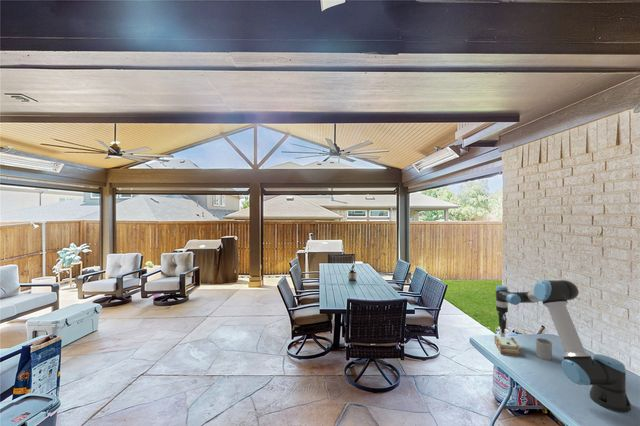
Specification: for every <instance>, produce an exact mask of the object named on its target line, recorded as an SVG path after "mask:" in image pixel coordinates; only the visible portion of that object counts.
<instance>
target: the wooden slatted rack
mask: <svg viewBox="0 0 640 426" xmlns="http://www.w3.org/2000/svg"><path fill="white" fill-rule="evenodd" d="M497 337H498V336H497V335H494V345H495V344H496V345H495V347H496V348H497V350H498V352H499V351H500V352H499V353H500V354H501V355H504V356H505V355H506V356H514V357H521V356H522V354H521V353H522V351H521V350H522V349H521V348H522V347H520V345H519V343H518V342H517V341H516V340H515V338H514V337H510V339H512V341H513V342H514V343H515V345H516V346H517V349H511V348H503V346H502V344H501V342H500V341H499V339H498V338H497Z"/></svg>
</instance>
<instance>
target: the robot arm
mask: <svg viewBox="0 0 640 426" xmlns="http://www.w3.org/2000/svg"><path fill="white" fill-rule="evenodd" d="M578 296H579V288H578V287H577V285H575V284H574V283H573V282H572V281H569V280H561V279H559V280H557V279H556V280H549V279H548V280H547V279H546V280H539V281H537V282H536V283H535V284H534V286H533V290H530V291H518V292H516V291H513V292H511V291H509V289H508V287H507V286H506V285H501V284H500V285H499V284H498V285H496V287H495V299H496V300H495V307H496V309H495V310H496V311H497V315H498V325H499V337H500V338H506V329H507V327H506V326H507V314H506V313H508V312H509V308H508V306H509V304H511V305H514V306H517V305H519V304H524V303H525V304H526V303H527V304H528V303H529V304H530V303H531V304H532V303H533V304H535V303H538V302H542V304H543V306H544V307H546V308H547V309H548V312H549V314H550V316H551V320H552V322H553V325H554V327H555V330H556V332H557V333H556V334H557V335H558V338H559V340H560V343H561V346H562V348H563V351H564V354H563V357H562V358H563V360H562V361H561V365H560V366H561V369H562V372H563V373H564V375H565V376H566V378H567V379H568V380H570V381H571V382H572V383H574V384H576V385H579V386H591V387H590V389H589V397H590V399H591V400H592V401H593V402H594V403H596V404H597V405H600V406H601V407H602V408H605V409H608V410H611V411H615V412H617V413H618V412H619V413H629V412H631V410H632V404H631V402H630V399H629V397H628V395H627V393H626V390H627V387H626V383H627V382H626V379H627V377H626V376H627V375H626V374H627V371H626V366H625V365H624V363H623V362H621V361H620V360H618V359H616V358H613V357H611V356H607V355H605V354H598V353H597V354H596V353H595V354H593V357H592V356H591V354H589V353H587V352H586V351H585V349H584V346H583V343H582V341H581V339H580V336H579V334H578V332H577V331H578V330H577V329H576V327H575V324H574V322H573V320H572V317H571V315H570V312H569V310H568V308H567V305H568V303H569V301H571V300H572V301H573V300H575V299H576V298H577V297H578ZM592 358H593V359H592Z"/></svg>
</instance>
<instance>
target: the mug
mask: <svg viewBox="0 0 640 426" xmlns="http://www.w3.org/2000/svg"><path fill="white" fill-rule="evenodd" d="M535 345H536V347H535V348H536V349H535V351H536V353H535V354H536V356H537V357H538V358H539V359H542V360H545V361H551V360H552V359H553V342H552V341H551V340H549V339H547V338H541V337H540V338H536V340H535Z"/></svg>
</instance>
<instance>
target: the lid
mask: <svg viewBox="0 0 640 426" xmlns="http://www.w3.org/2000/svg"><path fill="white" fill-rule="evenodd" d="M497 338H498V339H499V341H500V342H501V344H502V346H503V348H511V349H517V346H516V345H515V343H514V342H513V341H512V339H511V338H510V337H509V338H507V337H501V336H497Z"/></svg>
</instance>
